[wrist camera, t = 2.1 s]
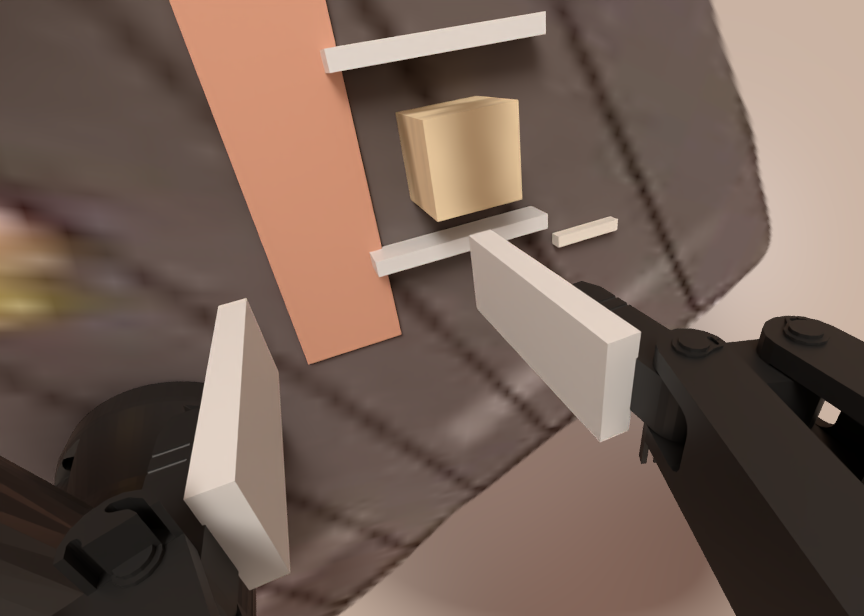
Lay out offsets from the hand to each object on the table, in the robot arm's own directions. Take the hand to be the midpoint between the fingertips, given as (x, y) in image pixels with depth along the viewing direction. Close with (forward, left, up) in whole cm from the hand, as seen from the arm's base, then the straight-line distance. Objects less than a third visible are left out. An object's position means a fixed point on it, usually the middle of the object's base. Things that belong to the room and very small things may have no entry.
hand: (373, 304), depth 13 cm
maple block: (+10, 0, -19) cm, 21 cm away
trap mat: (0, 0, -19) cm, 19 cm away
